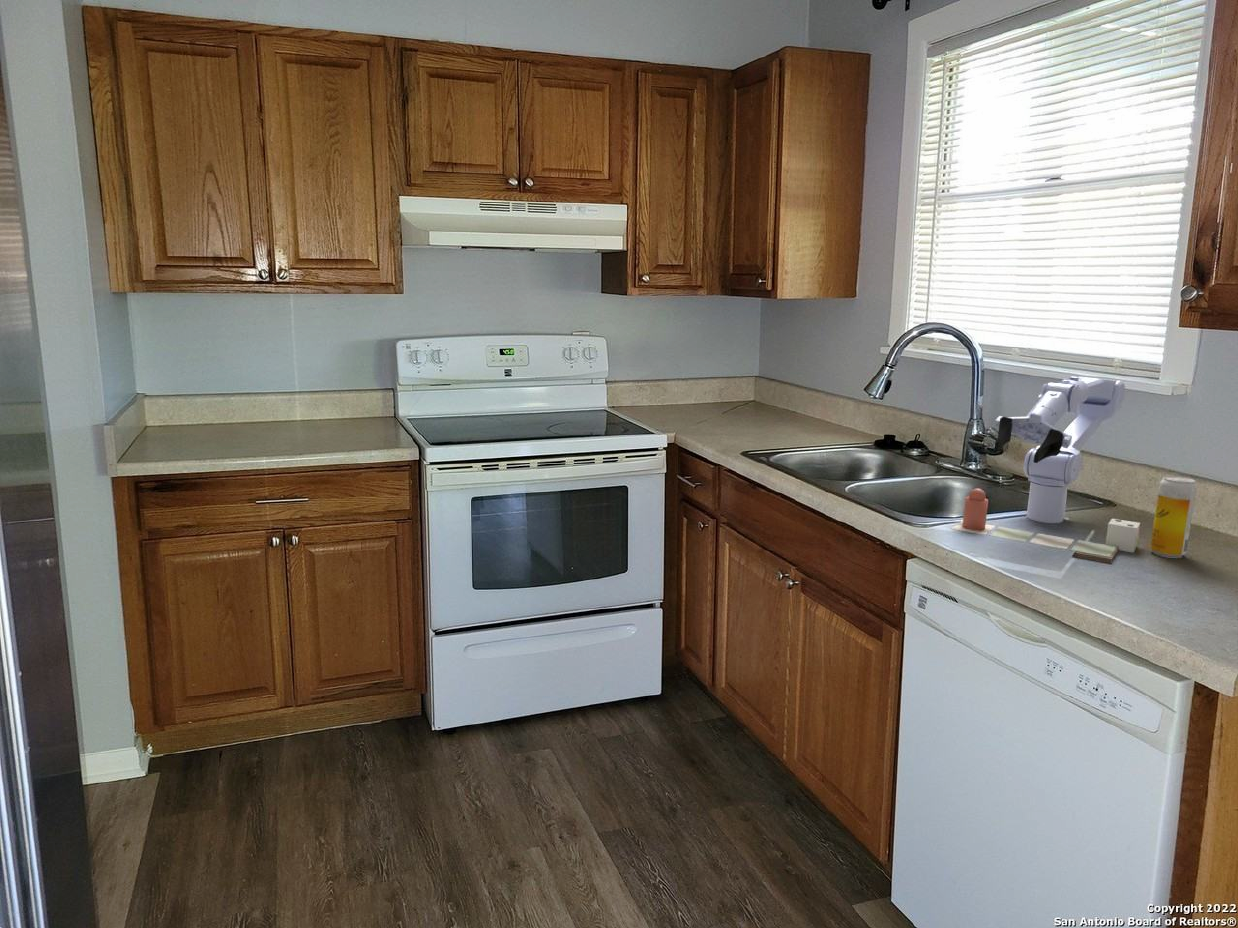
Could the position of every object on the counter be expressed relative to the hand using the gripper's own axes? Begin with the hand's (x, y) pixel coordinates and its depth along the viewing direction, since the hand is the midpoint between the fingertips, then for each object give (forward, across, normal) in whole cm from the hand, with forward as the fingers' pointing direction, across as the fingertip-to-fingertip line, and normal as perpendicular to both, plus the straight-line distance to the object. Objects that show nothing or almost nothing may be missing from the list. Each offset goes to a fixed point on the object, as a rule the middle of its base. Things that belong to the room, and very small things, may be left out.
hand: (1015, 452), depth 183 cm
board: (+4, +7, +17) cm, 19 cm away
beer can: (-7, +28, +19) cm, 35 cm away
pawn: (+6, -5, +17) cm, 19 cm away
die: (-6, +21, +19) cm, 29 cm away
